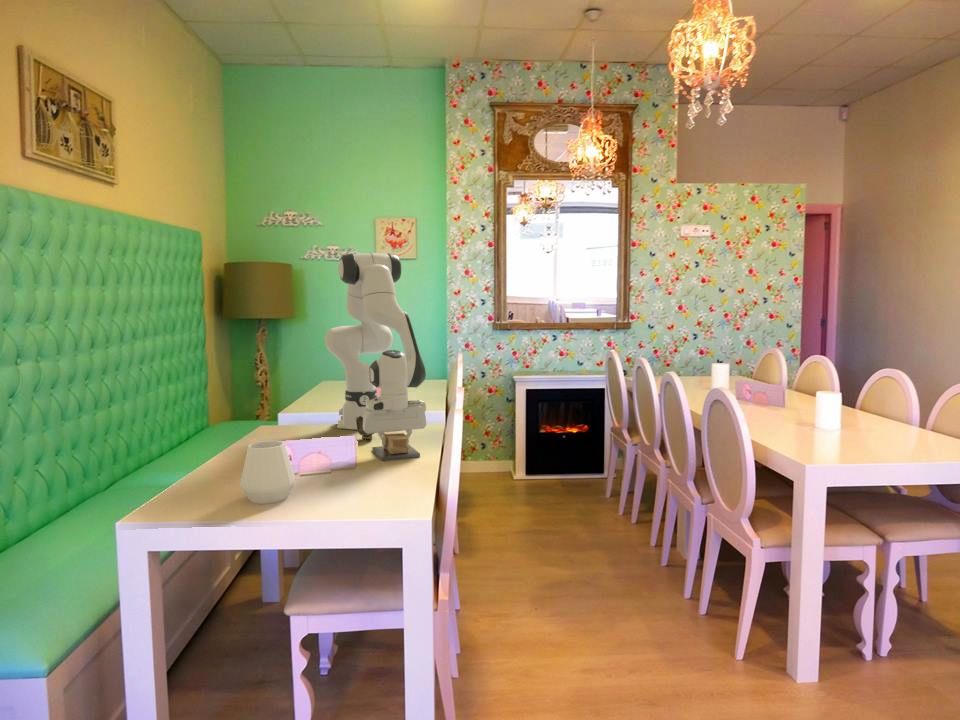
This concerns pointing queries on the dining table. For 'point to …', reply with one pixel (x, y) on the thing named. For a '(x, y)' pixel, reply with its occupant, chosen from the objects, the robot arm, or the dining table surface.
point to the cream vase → (267, 472)
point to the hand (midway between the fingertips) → (395, 444)
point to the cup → (360, 429)
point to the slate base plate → (386, 456)
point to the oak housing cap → (396, 442)
